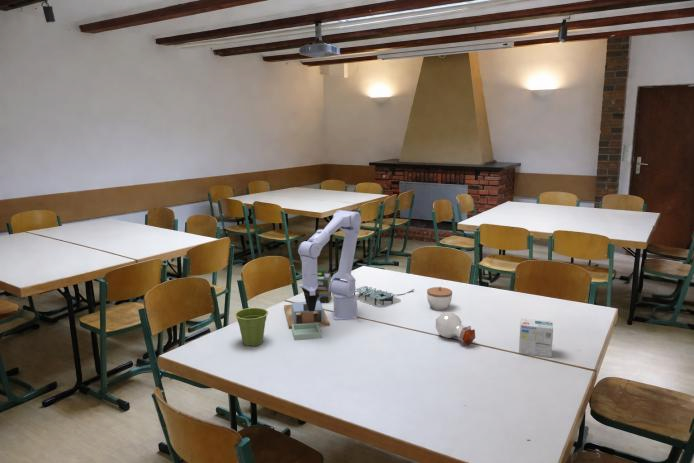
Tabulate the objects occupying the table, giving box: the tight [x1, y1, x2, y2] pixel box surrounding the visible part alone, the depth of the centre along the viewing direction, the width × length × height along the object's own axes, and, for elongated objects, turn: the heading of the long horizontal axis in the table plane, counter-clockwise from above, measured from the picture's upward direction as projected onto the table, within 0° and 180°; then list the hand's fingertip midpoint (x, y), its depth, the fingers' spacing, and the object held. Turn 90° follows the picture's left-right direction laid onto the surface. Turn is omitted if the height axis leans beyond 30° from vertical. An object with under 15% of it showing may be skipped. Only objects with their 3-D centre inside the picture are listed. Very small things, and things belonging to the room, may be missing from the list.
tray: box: [291, 323, 322, 341], centre depth 189 cm, size 10×10×2 cm
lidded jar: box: [426, 286, 453, 311], centre depth 215 cm, size 11×11×9 cm
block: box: [301, 312, 314, 323], centre depth 200 cm, size 4×4×6 cm
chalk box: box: [315, 268, 332, 304], centre depth 225 cm, size 9×9×15 cm
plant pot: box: [234, 307, 269, 347], centre depth 181 cm, size 12×12×11 cm
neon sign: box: [353, 285, 415, 309], centre depth 232 cm, size 21×4×29 cm
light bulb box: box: [518, 317, 554, 358], centre depth 172 cm, size 11×7×11 cm, turn 71°
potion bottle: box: [435, 311, 476, 346], centre depth 183 cm, size 10×10×15 cm
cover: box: [290, 301, 325, 324], centre depth 200 cm, size 12×10×8 cm
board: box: [283, 304, 330, 330], centre depth 206 cm, size 16×24×2 cm
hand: (310, 307), depth 189 cm, fingers open, 6 cm apart
